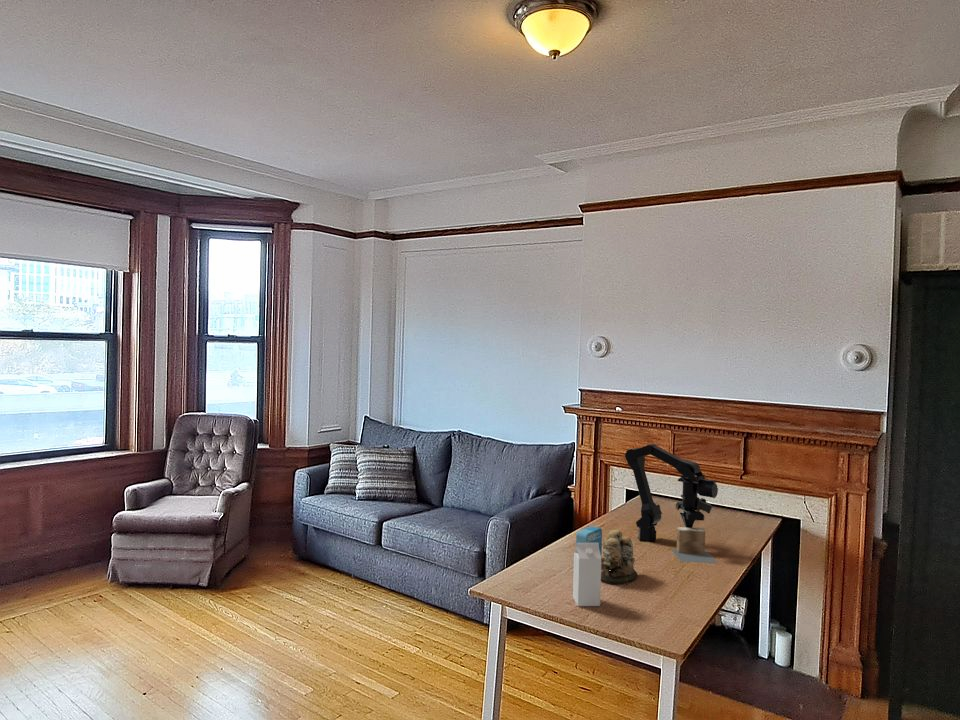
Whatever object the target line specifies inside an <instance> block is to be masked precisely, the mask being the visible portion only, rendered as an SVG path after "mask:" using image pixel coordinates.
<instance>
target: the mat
mask: <svg viewBox="0 0 960 720" xmlns="http://www.w3.org/2000/svg"><path fill="white" fill-rule="evenodd" d="M670 550H671V552H672V553H673V554H674V555H675V556H676V557H677V559H678V560H679V561H680V562H681V563H685V562H686V563H705V564H706V563H708V564H710V563H711V564H712V563H713V564H718V563H719V562H718V560H716V559H715V557H713V556H712V555H711V554H710V552H708V551H707V550H705V553H704V554H693V553H678V551H677V548H671V549H670Z"/></svg>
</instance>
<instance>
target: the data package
mask: <svg viewBox="0 0 960 720" xmlns="http://www.w3.org/2000/svg"><path fill="white" fill-rule="evenodd" d="M602 542H603V529H602V528H600V527H596V526H592V525H591V526H588V527H585V528H582V529H580V530H578V531H577V532H576V537H575V548H576V547H577V543H599V550H600V555H601V556H602V554H603V543H602Z"/></svg>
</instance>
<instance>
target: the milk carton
mask: <svg viewBox="0 0 960 720" xmlns="http://www.w3.org/2000/svg"><path fill="white" fill-rule="evenodd" d="M601 572H602V554H601V555H600V550H599V543H577V547H576V546H575V549H574V551H573V575H572V576H573V578H572V579H573V580H572V581H573V582H572V598H573V600H574V601H575V604H576V606H577V607H601V592H602V591H601V586H602V585H601V584H602V581H601Z"/></svg>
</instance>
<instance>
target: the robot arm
mask: <svg viewBox="0 0 960 720" xmlns="http://www.w3.org/2000/svg"><path fill="white" fill-rule="evenodd" d="M650 455H651V456H653V457H654V458H656V459H658V460H660V461H662V462H664V463H666V464H668V465H669V466H671V467H673V468H674V469H675V470H676V471H677V473H679V474H681V476H680V477H679V478H677V481H678V482H680V483H682V494H680V498H682V501H678V502H677V503H675V510H677V511H680V509H681V512H679V515H680V517H681V519H682V522H683V524H684V527H688V528H694V527H693V526H694V524H695V521H705V515H704V513H702V512H701V511H703V512H706V513H707V514H711V511H712V508H713V505H712V504H710V503H708V502H707V500H706V499H705V498H703V497H706V498H712V499H715V498H717V496H718V491H719V488H718V485H717V483H716V480H715V479H707V478H706V477H705V475H704V473H703V471H702V470H701V467H700V464H698V463H697V462H696V461H693V460H689V459H685V458H681V457H679V456H677V455H676V454H673V453H671V452H670V451H667V450H665V449H664V448H662V447H660V446H658V445H656V444H655V443H650V444H647V445H644V446H642V447H634V448H629V449H627V450H626V452H625V453H624V457H625V460H626V462H627V465H628V466H629V468H630V469H631V470H632V473H633V475H634V479H635V482H636V487H637V491H638V494H639V498H640V501H641V509H640V514H641V515H640V516H641V517H640V518H639V519H638V520H636V522H635V524H636V527H637V528H638V534H637V535H638V537H637V539H638V540H639V542H641V543H642V542H643V543H656V541H657V530H656V527H655V526H657V525H658V523H659V522H660V521H661V520H662V515H663V512H662V510H661V505H660V504H656V503H655V502H654V500H653V495H652V492H651V488H650V484H649V481H648V477H647V474H646V471H645V465H646V457H647V456H650ZM698 495H699V496H701V498H700V497H699V496H698Z"/></svg>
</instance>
